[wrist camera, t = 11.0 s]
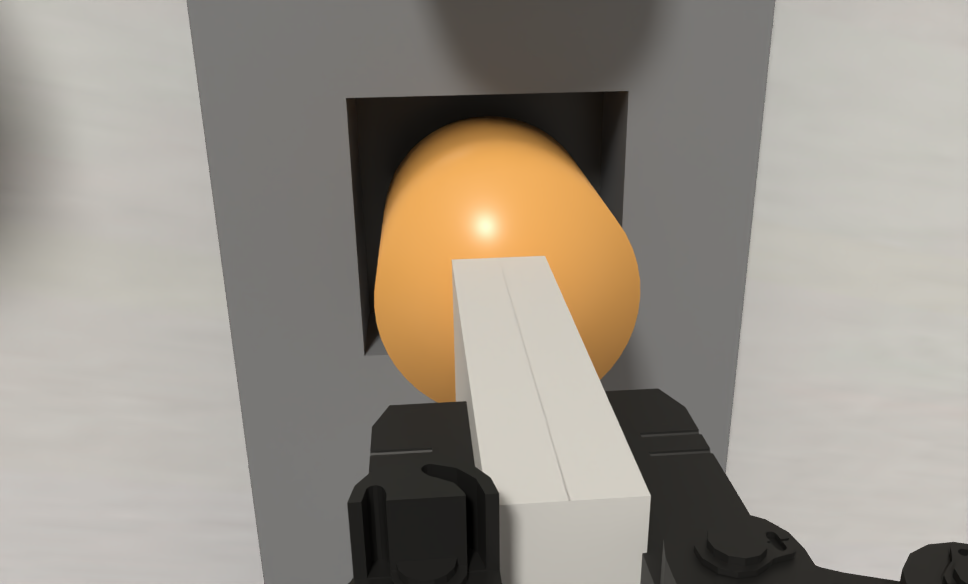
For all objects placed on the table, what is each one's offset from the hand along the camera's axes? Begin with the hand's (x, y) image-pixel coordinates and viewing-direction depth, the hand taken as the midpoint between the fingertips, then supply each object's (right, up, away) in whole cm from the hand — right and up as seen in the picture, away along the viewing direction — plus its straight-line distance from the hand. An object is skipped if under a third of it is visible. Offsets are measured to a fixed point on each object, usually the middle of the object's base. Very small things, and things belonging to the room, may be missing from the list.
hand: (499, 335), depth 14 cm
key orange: (0, +2, +6) cm, 7 cm away
